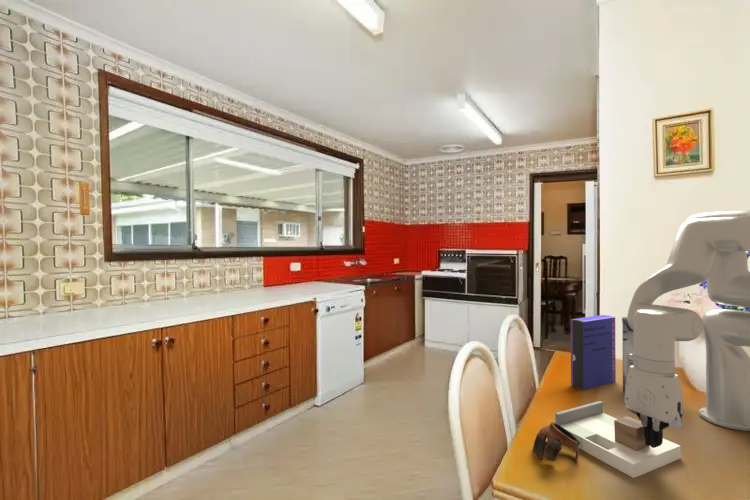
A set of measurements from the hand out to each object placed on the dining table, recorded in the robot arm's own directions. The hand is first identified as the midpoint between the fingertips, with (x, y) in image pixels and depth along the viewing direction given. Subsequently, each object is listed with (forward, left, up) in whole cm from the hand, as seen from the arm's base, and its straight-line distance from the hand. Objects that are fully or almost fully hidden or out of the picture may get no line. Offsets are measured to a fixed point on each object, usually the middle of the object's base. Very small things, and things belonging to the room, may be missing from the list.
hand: (653, 444), depth 85 cm
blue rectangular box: (-34, -39, -5) cm, 52 cm away
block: (0, -5, -2) cm, 5 cm away
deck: (0, -9, -5) cm, 10 cm away
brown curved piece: (+17, -12, -5) cm, 22 cm away
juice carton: (-40, -26, -5) cm, 48 cm away
